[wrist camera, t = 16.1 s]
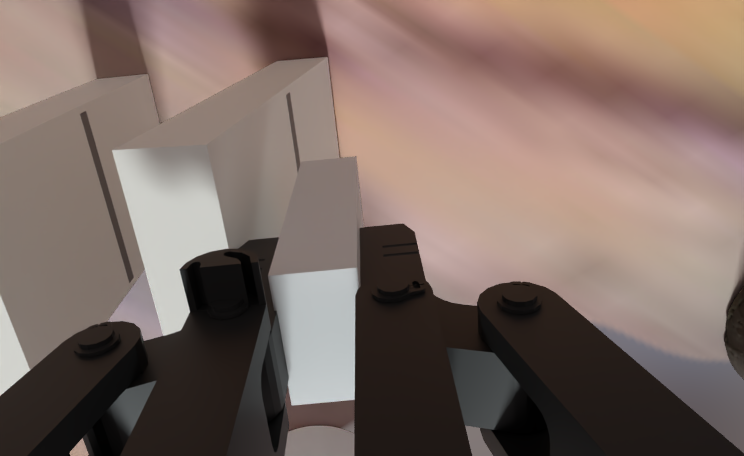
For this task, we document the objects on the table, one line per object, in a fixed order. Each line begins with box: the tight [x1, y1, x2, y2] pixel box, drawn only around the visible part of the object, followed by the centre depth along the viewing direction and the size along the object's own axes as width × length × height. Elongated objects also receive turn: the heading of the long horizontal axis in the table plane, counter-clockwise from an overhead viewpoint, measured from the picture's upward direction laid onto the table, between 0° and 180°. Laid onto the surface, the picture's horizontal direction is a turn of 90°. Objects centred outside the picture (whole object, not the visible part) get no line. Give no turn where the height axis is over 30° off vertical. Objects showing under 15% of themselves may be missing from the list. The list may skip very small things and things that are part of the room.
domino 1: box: [0, 74, 160, 396], centre depth 18 cm, size 2×6×12 cm, turn 6°
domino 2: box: [112, 57, 340, 336], centre depth 18 cm, size 2×6×12 cm, turn 5°
